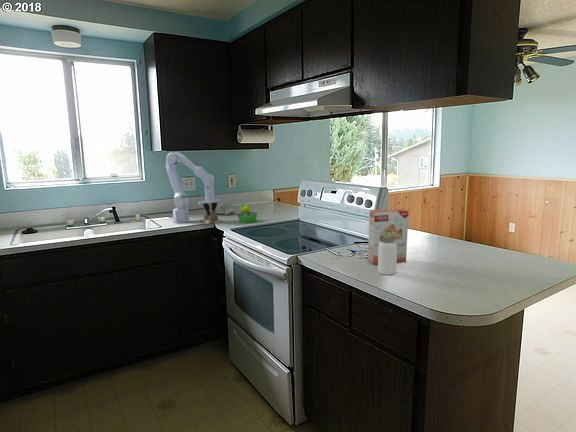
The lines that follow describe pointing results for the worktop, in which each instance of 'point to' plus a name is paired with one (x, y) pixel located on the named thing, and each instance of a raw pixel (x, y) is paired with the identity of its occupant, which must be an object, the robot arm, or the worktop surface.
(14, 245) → the worktop surface
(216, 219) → the beige irregular piece
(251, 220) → the fruit basket
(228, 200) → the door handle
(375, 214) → the cracker box
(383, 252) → the can
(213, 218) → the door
